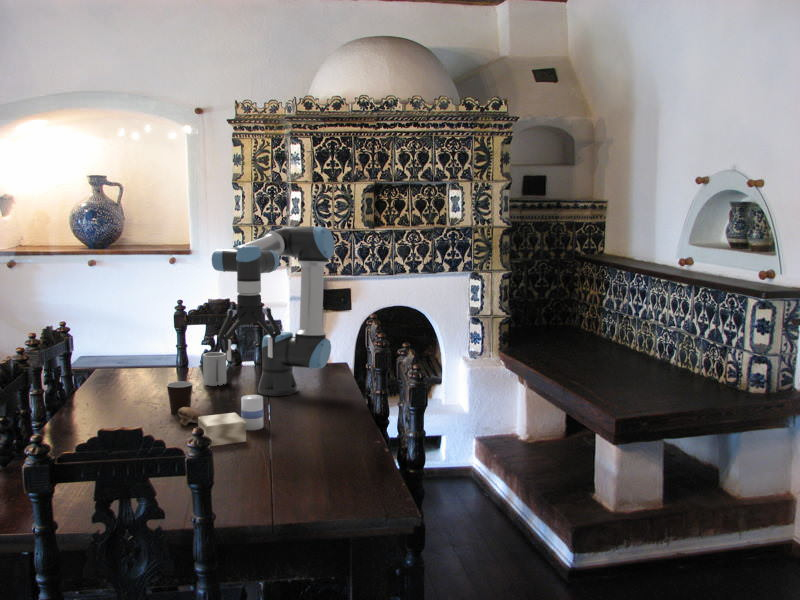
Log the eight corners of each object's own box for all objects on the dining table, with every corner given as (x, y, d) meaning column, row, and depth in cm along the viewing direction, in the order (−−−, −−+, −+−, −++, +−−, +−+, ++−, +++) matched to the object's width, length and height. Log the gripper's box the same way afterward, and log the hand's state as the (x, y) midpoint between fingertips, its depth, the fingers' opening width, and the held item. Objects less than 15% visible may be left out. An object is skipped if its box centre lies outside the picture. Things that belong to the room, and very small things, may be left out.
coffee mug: (186, 416, 259) (185, 387, 257) (163, 414, 260) (162, 386, 259) (201, 407, 270) (200, 380, 269) (179, 406, 272) (178, 378, 270)
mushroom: (175, 419, 243) (183, 402, 246) (170, 422, 250) (179, 405, 253) (197, 429, 245) (205, 412, 248) (193, 432, 252) (201, 415, 255)
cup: (216, 379, 313) (215, 351, 312) (231, 382, 308) (230, 354, 306) (198, 383, 306) (198, 354, 304) (213, 386, 301) (213, 357, 299)
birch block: (236, 430, 243) (235, 412, 242) (246, 441, 232) (245, 421, 231) (198, 435, 237) (198, 416, 236) (206, 446, 227) (206, 426, 226)
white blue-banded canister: (260, 422, 252) (259, 393, 251) (266, 428, 246) (266, 398, 244) (238, 425, 249) (238, 396, 247) (244, 431, 242) (244, 401, 241)
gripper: (282, 291, 251) (283, 353, 253) (207, 294, 240) (208, 359, 242) (289, 293, 244) (290, 357, 246) (212, 296, 233) (213, 363, 235)
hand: (249, 358), depth 244 cm, fingers open, 13 cm apart
